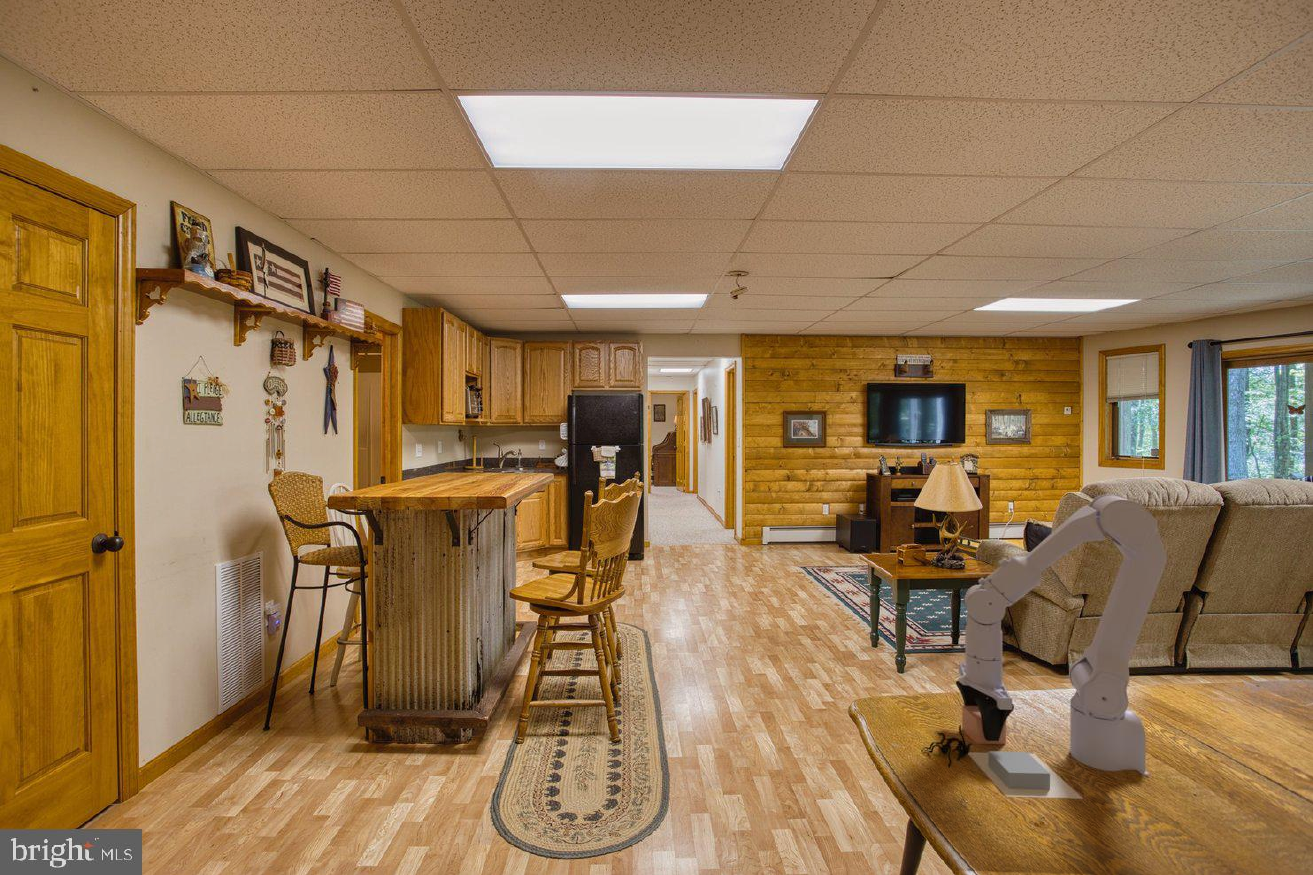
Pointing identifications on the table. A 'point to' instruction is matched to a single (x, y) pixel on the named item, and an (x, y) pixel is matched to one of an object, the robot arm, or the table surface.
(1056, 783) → the board
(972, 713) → the top brick
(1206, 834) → the table surface
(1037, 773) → the base brick
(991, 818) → the table surface
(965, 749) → the creature
